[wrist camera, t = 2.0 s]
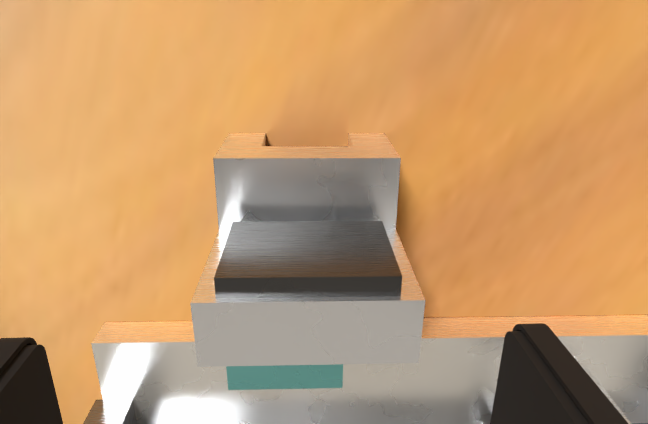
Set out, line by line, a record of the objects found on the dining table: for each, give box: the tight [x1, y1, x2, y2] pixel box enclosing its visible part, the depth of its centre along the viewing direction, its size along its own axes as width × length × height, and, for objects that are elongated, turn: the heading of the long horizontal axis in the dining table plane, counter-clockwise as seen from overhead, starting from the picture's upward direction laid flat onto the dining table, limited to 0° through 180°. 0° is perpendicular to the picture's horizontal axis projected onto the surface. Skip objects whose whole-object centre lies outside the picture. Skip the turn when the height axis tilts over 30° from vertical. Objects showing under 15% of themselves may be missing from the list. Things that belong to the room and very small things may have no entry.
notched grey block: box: [191, 133, 425, 367], centre depth 16 cm, size 5×6×8 cm
